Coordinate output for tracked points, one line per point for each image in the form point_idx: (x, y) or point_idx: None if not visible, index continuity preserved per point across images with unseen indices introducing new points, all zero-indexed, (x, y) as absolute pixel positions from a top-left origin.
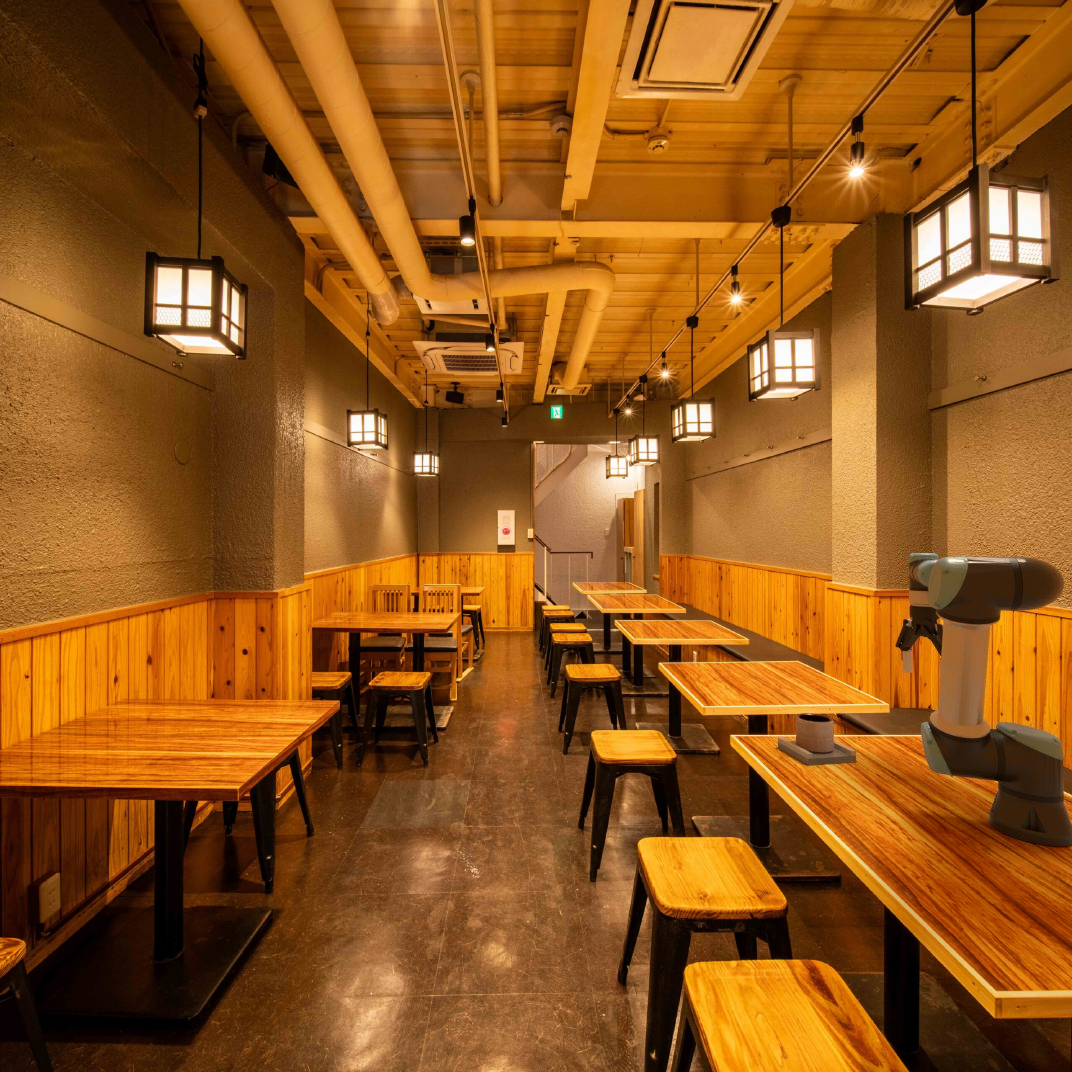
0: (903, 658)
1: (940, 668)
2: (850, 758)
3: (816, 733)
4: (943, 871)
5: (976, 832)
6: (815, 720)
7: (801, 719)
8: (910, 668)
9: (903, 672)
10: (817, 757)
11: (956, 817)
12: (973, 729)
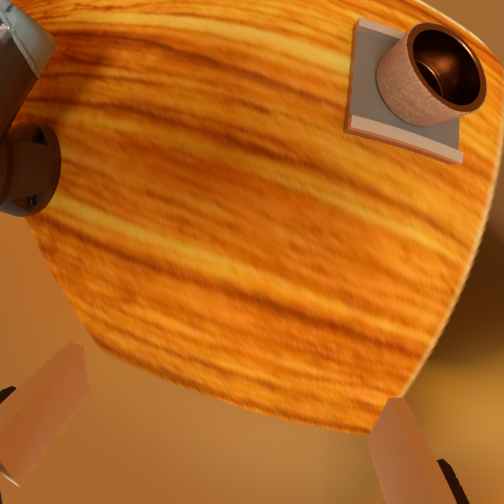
0: (432, 471)
1: (22, 393)
2: (347, 115)
3: (398, 41)
4: (37, 7)
5: (48, 91)
6: (465, 102)
7: (438, 24)
8: (378, 450)
9: (397, 398)
10: (358, 42)
11: (78, 98)
12: None
